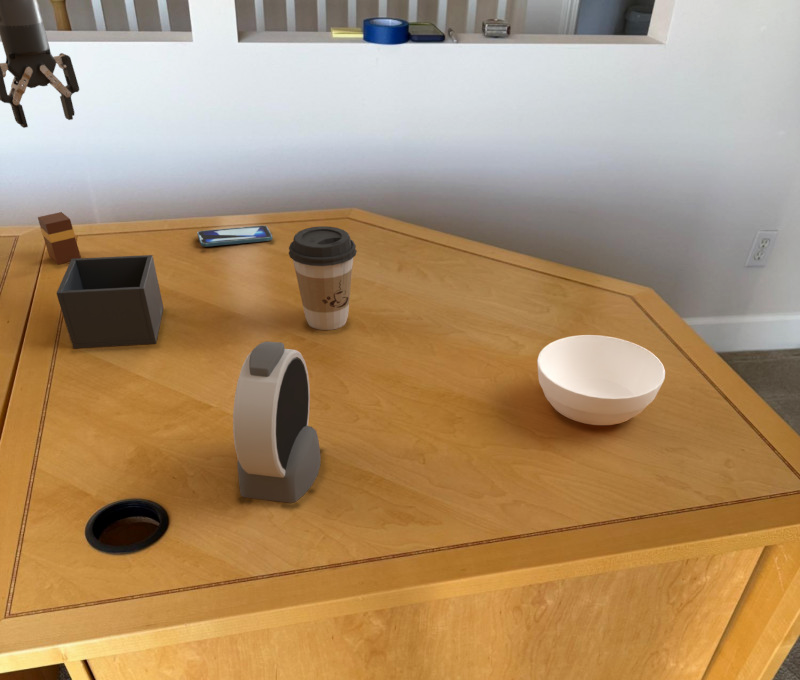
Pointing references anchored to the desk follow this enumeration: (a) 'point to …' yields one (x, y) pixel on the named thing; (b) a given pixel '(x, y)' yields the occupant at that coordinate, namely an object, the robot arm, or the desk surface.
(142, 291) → the trash bin
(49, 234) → the chocolate box
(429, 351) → the desk surface
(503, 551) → the desk surface
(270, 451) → the alarm clock
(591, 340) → the bowl
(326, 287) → the coffee cup
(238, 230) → the smartphone
